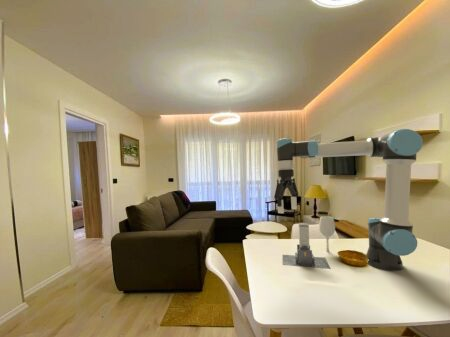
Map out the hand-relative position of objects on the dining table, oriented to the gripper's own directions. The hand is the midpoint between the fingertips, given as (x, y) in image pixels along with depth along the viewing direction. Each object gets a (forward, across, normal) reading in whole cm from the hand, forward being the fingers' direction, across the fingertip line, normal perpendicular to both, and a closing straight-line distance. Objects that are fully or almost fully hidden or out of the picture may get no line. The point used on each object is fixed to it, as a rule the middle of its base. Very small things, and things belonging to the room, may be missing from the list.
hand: (287, 211), depth 111 cm
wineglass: (+28, -28, +8) cm, 41 cm away
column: (+26, -8, +4) cm, 28 cm away
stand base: (+28, -8, +4) cm, 29 cm away
